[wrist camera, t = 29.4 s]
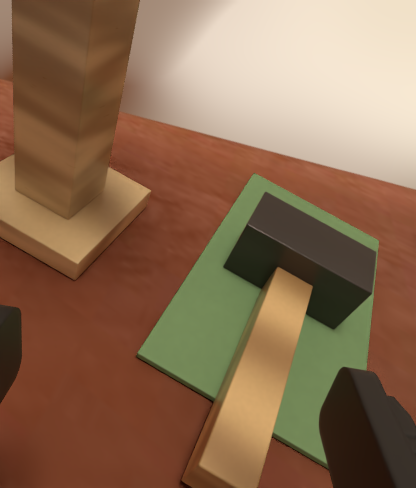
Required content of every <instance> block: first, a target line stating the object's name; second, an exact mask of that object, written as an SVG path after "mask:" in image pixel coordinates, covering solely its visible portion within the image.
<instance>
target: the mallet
mask: <svg viewBox="0 0 416 488" xmlns="http://www.w3.org/2000/svg"><path fill="white" fill-rule="evenodd" d="M376 254H377V252H376V251H374V250H372V249H370V248H368V247H367V246H365V245H363V244H361V243H359V242H358V241H356V240H354V239H352V238H350V237H348V236H347V235H345V234H343V233H341V232H339V231H337V230H336V229H334V228H332V227H330V226H328V225H326V224H325V223H323V222H321V221H319V220H317V219H315V218H314V217H312V216H310V215H308V214H306V213H305V212H303V211H301V210H299V209H297V208H295V207H294V206H292V205H290V204H288V203H286V202H284V201H283V200H281V199H279V198H277V197H275V196H273V195H272V194H270V193H268V192H265V193H264V194H263V196H262V198H261V200H260V201H259V203H258V205H257V207H256V209H255V210H254V212H253V214H252V216H251V217H250V219H249V221H248V223H247V224H246V226H245V228H244V230H243V232H242V233H241V235H240V237H239V239H238V241H237V242H236V244H235V246H234V248H233V249H232V251H231V253H230V255H229V257H228V258H227V260H226V262H225V264H224V265H223V267H224V268H225V269H227V270H229V271H231V272H232V273H234V274H236V275H238V276H239V277H241V278H243V279H245V280H246V281H248V282H250V283H252V284H254V285H255V286H257V287H259V288H261V291H260V293H259V296H258V298H257V301H256V303H255V305H254V308H253V310H252V312H251V315H250V317H249V320H248V322H247V324H246V327H245V329H244V332H243V334H242V336H241V339H240V341H239V343H238V346H237V348H236V351H235V353H234V355H233V358H232V360H231V363H230V365H229V367H228V370H227V372H226V374H225V377H224V379H223V382H222V384H221V386H220V389H219V391H218V394H217V396H216V398H215V401H214V403H213V405H212V408H211V410H210V413H209V415H208V417H207V420H206V422H205V425H204V427H203V429H202V432H201V434H200V436H199V439H198V441H197V444H196V446H195V448H194V451H193V453H192V456H191V458H190V460H189V463H188V465H187V467H186V470H185V472H184V475H183V477H182V481H183V482H184V483H186V484H187V485H189V486H191V487H192V488H258V484H259V481H260V477H261V474H262V470H263V466H264V463H265V459H266V455H267V452H268V448H269V445H270V441H271V437H272V434H273V430H274V426H275V423H276V419H277V415H278V412H279V408H280V405H281V401H282V397H283V394H284V390H285V386H286V383H287V379H288V376H289V372H290V368H291V365H292V361H293V357H294V354H295V350H296V347H297V343H298V339H299V336H300V332H301V328H302V325H303V321H304V317H305V314H307V315H308V316H310V317H312V318H314V319H315V320H317V321H319V322H321V323H323V324H324V325H326V326H328V327H330V328H331V329H333V330H335V329H336V328H337V327H338V326H339V325H340V324H341V323H342V322H343V321H344V320H345V319H346V318H347V317H348V316H349V315H350V314H351V313H353V312H354V311H355V310H356V309H357V308H358V307H359V306H360V305H361V304H362V303H363V302H364V301H365V300H366V299H367V298H368V297H369V296H371V295H372V292H373V283H374V273H375V264H376Z"/></svg>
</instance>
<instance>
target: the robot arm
mask: <svg viewBox="0 0 416 488" xmlns="http://www.w3.org/2000/svg"><path fill="white" fill-rule="evenodd" d="M21 358H22V340H21V311H20V309H19V308H17V307H11V306H6V305H0V403H1V402H2V400H3V398H4V397H5V395H6V393H7V392H8V390H9V389H10V387H11V385H12V384H13V382H14V380H15V378H16V376H17V374H18V371H19V368H20V364H21ZM319 433H320V437H321V441H322V445H323V449H324V453H325V456H326V460H327V464H328V468H329V472H330V476H331V480H332V484H333V488H416V426H415V424H414V422H413V420H412V418H411V416H410V415H409V414H408V413H407V411H406V410H405V409H404V408H403V407H402V406H401V405H400V404H399V402H398V401H397V400H396V399H395V398H394V397H391V396H387V395H386V393H385V391H384V389H383V386H382V384H381V382H380V380H379V378H378V376H377V375H376V374H375V373H374V372H372V371H366V370H361V369H355V368H349V367H342V368H341V369H340V370H339V371H338V373H337V375H336V377H335V379H334V382H333V384H332V386H331V388H330V390H329V392H328V394H327V396H326V398H325V401H324V403H323V405H322V407H321V410H320V414H319Z"/></svg>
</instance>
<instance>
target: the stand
mask: <svg viewBox="0 0 416 488" xmlns="http://www.w3.org/2000/svg"><path fill="white" fill-rule="evenodd" d="M139 2H140V0H12V42H13V43H12V44H13V105H14V154H13V155H11V156H9V157H8V158H6V159H4V160H2V161H0V237H1V238H2V239H4V240H6V241H8V242H9V243H11V244H13V245H15V246H16V247H18V248H20V249H21V250H23V251H25V252H27V253H28V254H30V255H32V256H34V257H35V258H37V259H39V260H40V261H42V262H44V263H46V264H47V265H49V266H51V267H52V268H54V269H56V270H58V271H59V272H61V273H63V274H65V275H66V276H68V277H70V278H71V279H73V280H76V279H77V278H78V277H79V276H80V275H81V274H82V273H83V272H84V271H85V270H86V269H87V268H88V267H89V266H90V265H91V263H92V262H93V261H94V260H95V259H96V258H97V257H98V256H99V255H100V254H101V253H102V252H103V251H104V250H105V249H106V248H107V247H108V246H109V245H110V244H111V243H112V242H113V241H114V240H115V239H116V237H117V236H118V235H119V234H120V233H121V232H122V231H123V230H124V229H125V228H126V227H127V226H128V225H129V224H130V223H131V222H132V221H133V220H134V219H135V218H136V217H137V216H138V215H139V214H140V213H141V211H142V210H143V209H144V208H145V207H146V206H147V203H148V199H149V196H150V193H151V190H149V189H147V188H146V187H144V186H142V185H140V184H138V183H137V182H135V181H133V180H131V179H129V178H128V177H126V176H124V175H122V174H120V173H119V172H117V171H115V170H113V169H111V168H110V167H108V166H109V161H110V156H111V151H112V145H113V140H114V135H115V129H116V124H117V119H118V114H119V108H120V103H121V97H122V92H123V87H124V82H125V76H126V71H127V66H128V60H129V54H130V50H131V44H132V39H133V34H134V29H135V23H136V18H137V12H138V8H139Z"/></svg>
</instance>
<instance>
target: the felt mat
mask: <svg viewBox="0 0 416 488" xmlns="http://www.w3.org/2000/svg"><path fill="white" fill-rule="evenodd" d="M265 192H268V193H270V194H272V195H273V196H275V197H277V198H279V199H281V200H283V201H284V202H286V203H288V204H290V205H292V206H294V207H295V208H297V209H299V210H301V211H303V212H305V213H306V214H308V215H310V216H312V217H314V218H315V219H317V220H319V221H321V222H323V223H325V224H326V225H328V226H330V227H332V228H334V229H336V230H337V231H339V232H341V233H343V234H345V235H347V236H348V237H350V238H352V239H354V240H356V241H358V242H359V243H361V244H363V245H365V246H367V247H368V248H370V249H372V250H374V251H376V252H377V254H376V264H375V273H374V283H373V292H372V295H371V296H369V297H368V298H367V299H366V300H365V301H364V302H363V303H362V304H361V305H360V306H359V307H358V308H357V309H356V310H355V311H354V312H353V313H351V314H350V315H349V316H348V317H347V318H346V319H345V320H344V321H343V322H342V323H341V324H340V325H339V326H338V327H337V328H336V329H335V330H333V329H331V328H330V327H328V326H326V325H324V324H323V323H321V322H319V321H317V320H315V319H314V318H312V317H310V316H308V315H307V314H305V317H304V321H303V325H302V328H301V332H300V336H299V339H298V343H297V347H296V350H295V354H294V357H293V361H292V365H291V368H290V372H289V376H288V379H287V383H286V386H285V390H284V394H283V397H282V401H281V405H280V408H279V412H278V415H277V419H276V423H275V426H274V430H273V434H272V436H273V437H274V438H276V439H278V440H280V441H281V442H283V443H285V444H286V445H288V446H290V447H291V448H293V449H295V450H297V451H298V452H300V453H302V454H303V455H305V456H307V457H309V458H310V459H312V460H314V461H315V462H317V463H319V464H320V465H322V466H324V467H326V468H327V469H329V468H328V464H327V460H326V456H325V453H324V449H323V445H322V441H321V437H320V433H319V414H320V410H321V407H322V405H323V403H324V401H325V398H326V396H327V394H328V392H329V390H330V388H331V386H332V384H333V382H334V379H335V377H336V375H337V373H338V371H339V370H340V369H341V368H342V367H349V368H355V369H361V370H366V368H367V358H368V347H369V337H370V327H371V317H372V306H373V296H374V286H375V275H376V265H377V255H378V245H379V240H377V239H375V238H373V237H371V236H369V235H368V234H366V233H364V232H362V231H360V230H358V229H357V228H355V227H353V226H351V225H349V224H347V223H346V222H344V221H342V220H340V219H338V218H336V217H334V216H333V215H331V214H329V213H327V212H325V211H323V210H322V209H320V208H318V207H316V206H314V205H312V204H311V203H309V202H307V201H305V200H303V199H301V198H299V197H298V196H296V195H294V194H292V193H290V192H288V191H287V190H285V189H283V188H281V187H279V186H277V185H276V184H274V183H272V182H270V181H268V180H266V179H265V178H263V177H261V176H259V175H257V174H255V173H254V174H253V175H252V177H251V178H250V180H249V181H248V183H247V184H246V186H245V187H244V189H243V191H242V192H241V194H240V195H239V197H238V198H237V200H236V201H235V203H234V204H233V206H232V208H231V209H230V211H229V212H228V214H227V215H226V217H225V218H224V220H223V221H222V223H221V225H220V226H219V228H218V229H217V231H216V232H215V234H214V235H213V237H212V238H211V240H210V242H209V243H208V245H207V246H206V248H205V249H204V251H203V252H202V254H201V255H200V257H199V259H198V260H197V262H196V263H195V265H194V266H193V268H192V269H191V271H190V272H189V274H188V276H187V277H186V279H185V280H184V282H183V283H182V285H181V286H180V288H179V289H178V291H177V293H176V294H175V296H174V297H173V299H172V300H171V302H170V303H169V305H168V306H167V308H166V310H165V311H164V313H163V314H162V316H161V317H160V319H159V320H158V322H157V323H156V325H155V327H154V328H153V330H152V331H151V333H150V334H149V336H148V337H147V339H146V340H145V342H144V344H143V345H142V347H141V348H140V350H139V351H138V353H137V355H136V356H137V357H138V358H140V359H141V360H143V361H145V362H147V363H148V364H150V365H152V366H153V367H155V368H157V369H158V370H160V371H162V372H164V373H165V374H167V375H169V376H170V377H172V378H174V379H176V380H177V381H179V382H181V383H182V384H184V385H186V386H187V387H189V388H191V389H193V390H194V391H196V392H198V393H199V394H201V395H203V396H205V397H206V398H208V399H210V400H211V401H213V402H214V401H215V398H216V396H217V394H218V391H219V389H220V386H221V384H222V382H223V379H224V377H225V374H226V372H227V370H228V367H229V365H230V363H231V360H232V358H233V355H234V353H235V351H236V348H237V346H238V343H239V341H240V339H241V336H242V334H243V332H244V329H245V327H246V324H247V322H248V320H249V317H250V315H251V312H252V310H253V308H254V305H255V303H256V301H257V298H258V296H259V293H260V291H261V288H259V287H257V286H255V285H254V284H252V283H250V282H248V281H246V280H245V279H243V278H241V277H239V276H238V275H236V274H234V273H232V272H231V271H229V270H227V269H225V268H224V267H223V265H224V264H225V262H226V260H227V258H228V257H229V255H230V253H231V251H232V249H233V248H234V246H235V244H236V242H237V241H238V239H239V237H240V235H241V233H242V232H243V230H244V228H245V226H246V224H247V223H248V221H249V219H250V217H251V216H252V214H253V212H254V210H255V209H256V207H257V205H258V203H259V201H260V200H261V198H262V196H263V194H264V193H265Z"/></svg>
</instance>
